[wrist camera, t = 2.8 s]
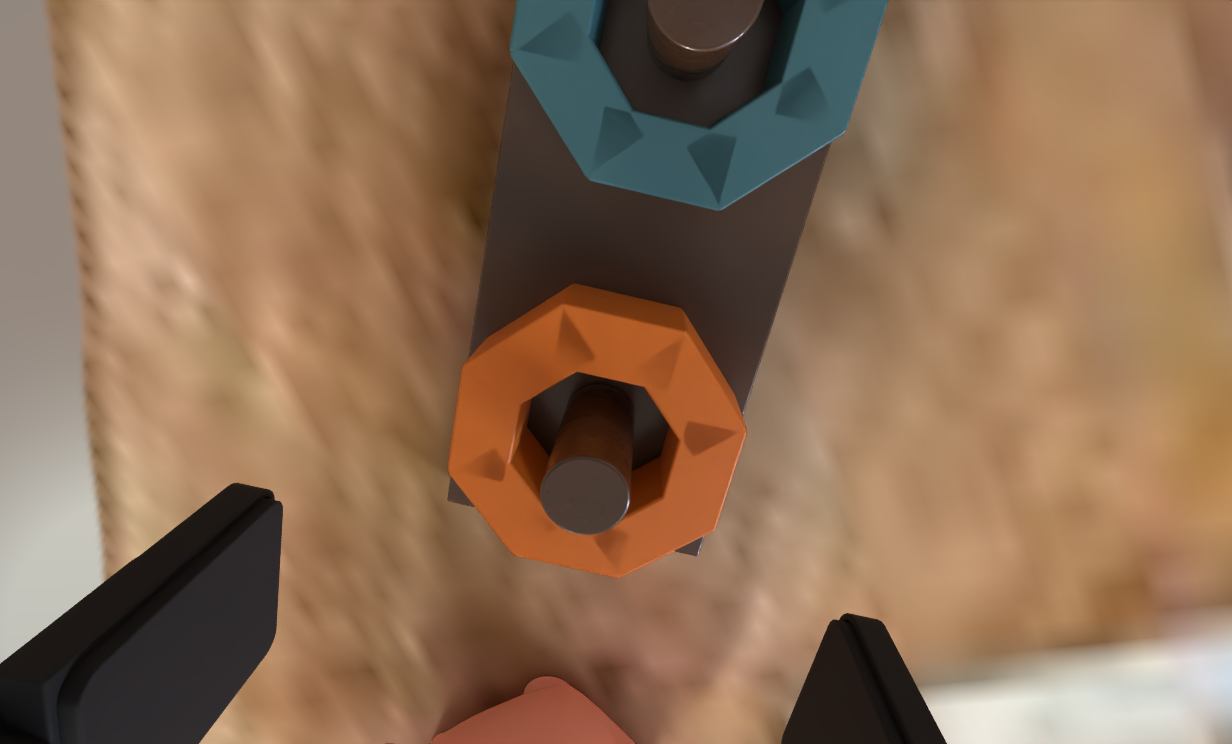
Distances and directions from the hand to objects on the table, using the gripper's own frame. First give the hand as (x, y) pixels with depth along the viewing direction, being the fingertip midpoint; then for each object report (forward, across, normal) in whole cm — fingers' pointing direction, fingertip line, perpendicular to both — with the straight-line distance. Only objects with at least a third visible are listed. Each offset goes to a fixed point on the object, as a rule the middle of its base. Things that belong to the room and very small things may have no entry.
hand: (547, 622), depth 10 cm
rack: (+9, 0, -6) cm, 11 cm away
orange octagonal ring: (+8, 0, 0) cm, 8 cm away
